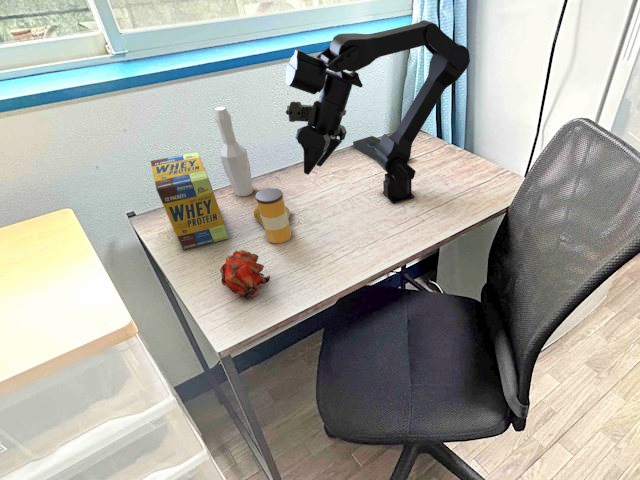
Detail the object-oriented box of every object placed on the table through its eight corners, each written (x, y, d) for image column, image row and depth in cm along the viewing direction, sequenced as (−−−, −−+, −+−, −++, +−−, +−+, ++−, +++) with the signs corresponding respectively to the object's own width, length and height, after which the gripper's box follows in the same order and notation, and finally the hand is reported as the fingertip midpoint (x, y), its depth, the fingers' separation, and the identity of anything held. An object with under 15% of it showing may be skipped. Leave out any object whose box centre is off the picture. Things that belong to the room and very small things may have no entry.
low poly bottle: (239, 185, 120) (215, 103, 105) (260, 187, 119) (238, 104, 104) (228, 196, 115) (201, 112, 100) (249, 198, 114) (226, 114, 99)
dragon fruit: (246, 274, 93) (261, 314, 87) (206, 268, 87) (220, 310, 81) (263, 245, 90) (280, 284, 83) (223, 235, 84) (238, 277, 77)
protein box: (183, 251, 97) (155, 189, 87) (174, 219, 107) (149, 160, 97) (229, 238, 101) (209, 177, 90) (217, 208, 111) (197, 150, 100)
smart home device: (372, 134, 140) (411, 155, 128) (373, 140, 141) (411, 161, 130) (351, 141, 137) (388, 163, 125) (352, 146, 138) (388, 168, 126)
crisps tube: (292, 228, 104) (283, 187, 96) (291, 242, 99) (281, 199, 92) (267, 230, 103) (256, 189, 95) (265, 244, 99) (254, 202, 91)
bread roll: (267, 232, 103) (263, 217, 100) (250, 217, 108) (246, 202, 105) (297, 219, 106) (294, 205, 104) (279, 205, 112) (276, 191, 109)
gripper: (311, 84, 99) (294, 148, 107) (281, 86, 83) (263, 162, 90) (356, 104, 100) (335, 167, 107) (334, 110, 84) (312, 184, 91)
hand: (312, 169), depth 99 cm, fingers open, 9 cm apart
